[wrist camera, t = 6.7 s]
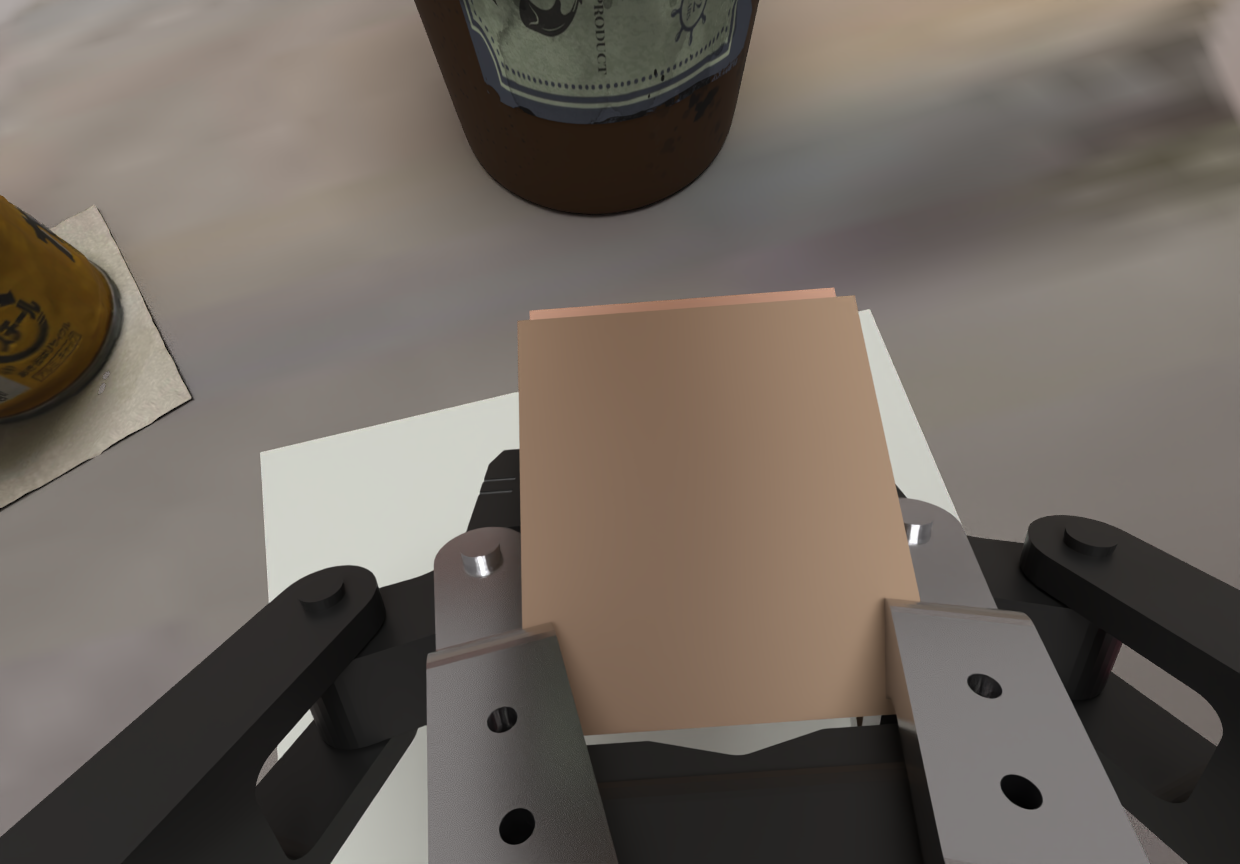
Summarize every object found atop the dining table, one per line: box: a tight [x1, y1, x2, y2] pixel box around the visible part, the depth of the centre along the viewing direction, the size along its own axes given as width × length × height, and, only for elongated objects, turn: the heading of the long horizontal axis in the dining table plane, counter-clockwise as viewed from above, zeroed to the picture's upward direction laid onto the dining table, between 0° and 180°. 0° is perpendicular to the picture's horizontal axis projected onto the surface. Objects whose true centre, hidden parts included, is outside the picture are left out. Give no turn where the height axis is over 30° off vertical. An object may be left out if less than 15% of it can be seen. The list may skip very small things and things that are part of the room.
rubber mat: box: [260, 309, 966, 864], centre depth 14 cm, size 18×24×1 cm
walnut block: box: [518, 288, 920, 736], centre depth 11 cm, size 4×5×9 cm
